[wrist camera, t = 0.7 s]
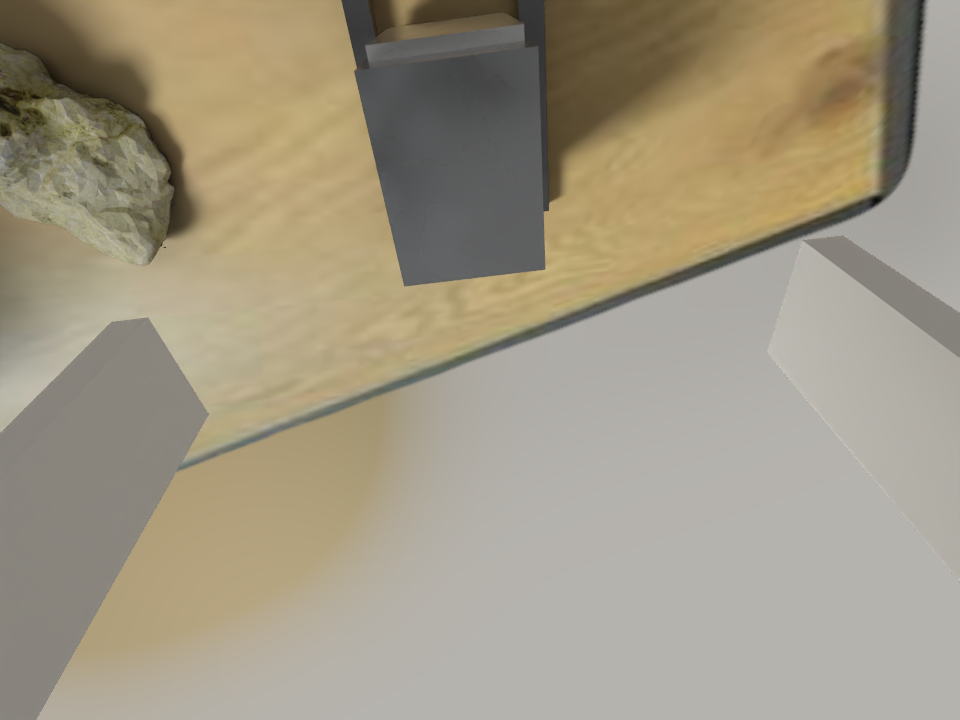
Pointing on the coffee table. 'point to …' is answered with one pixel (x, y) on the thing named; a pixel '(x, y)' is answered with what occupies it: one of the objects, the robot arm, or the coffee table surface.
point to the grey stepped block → (458, 146)
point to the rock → (80, 163)
